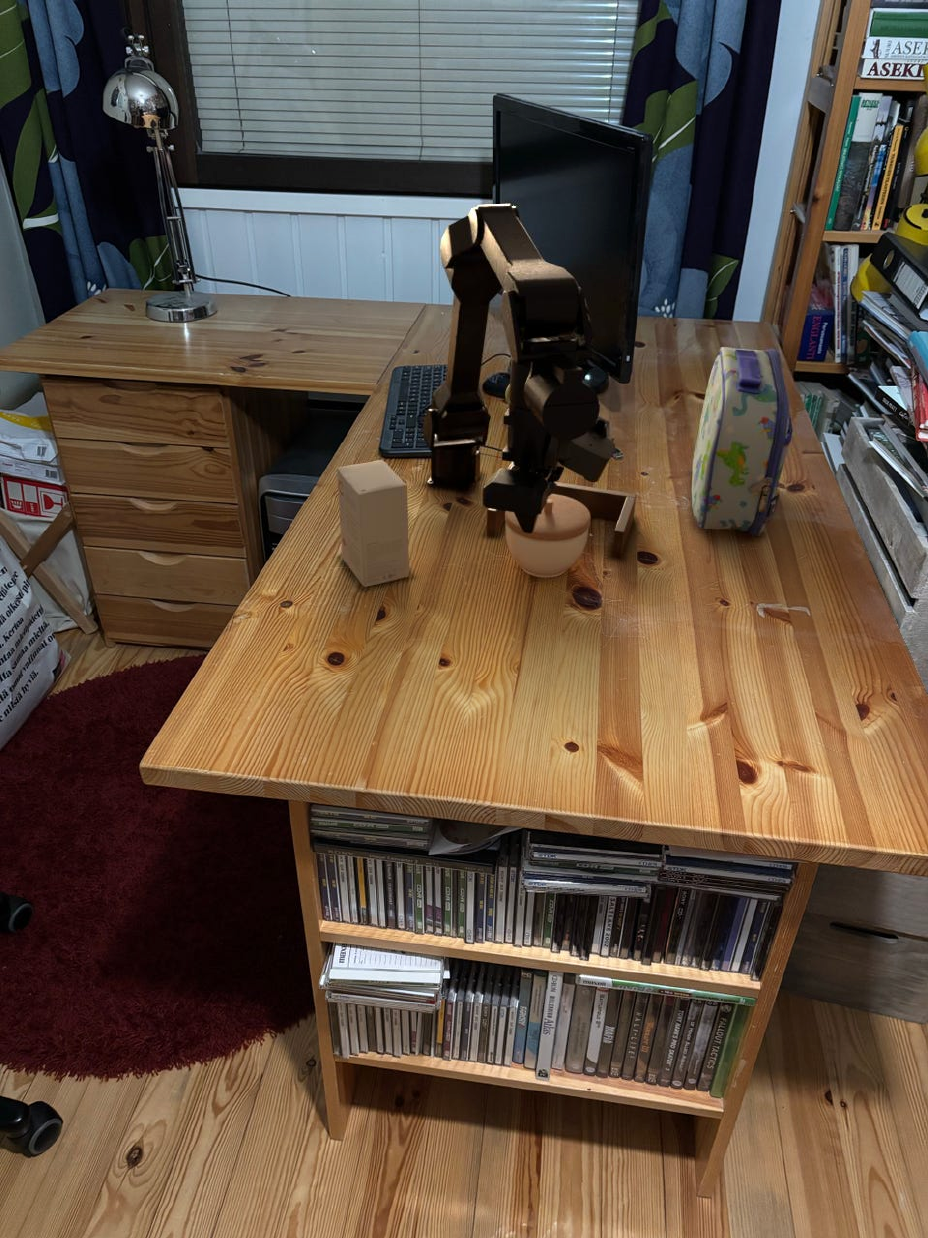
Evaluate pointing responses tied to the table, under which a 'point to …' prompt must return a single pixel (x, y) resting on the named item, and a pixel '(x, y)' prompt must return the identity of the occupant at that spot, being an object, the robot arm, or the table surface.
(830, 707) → the table surface
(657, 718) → the table surface
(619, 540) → the walnut bay
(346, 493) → the small box
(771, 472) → the lunch box
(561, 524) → the trinket box
